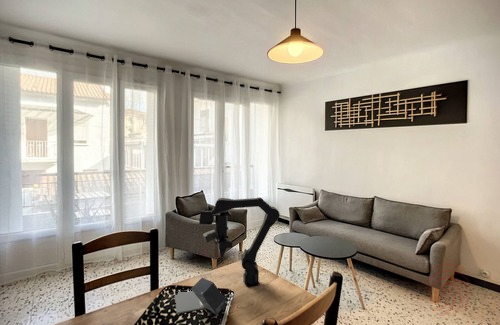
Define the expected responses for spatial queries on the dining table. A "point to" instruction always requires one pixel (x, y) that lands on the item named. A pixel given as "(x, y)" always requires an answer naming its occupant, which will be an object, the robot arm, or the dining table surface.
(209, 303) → the small box
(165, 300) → the dining table surface
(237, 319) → the dining table surface
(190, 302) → the mat
